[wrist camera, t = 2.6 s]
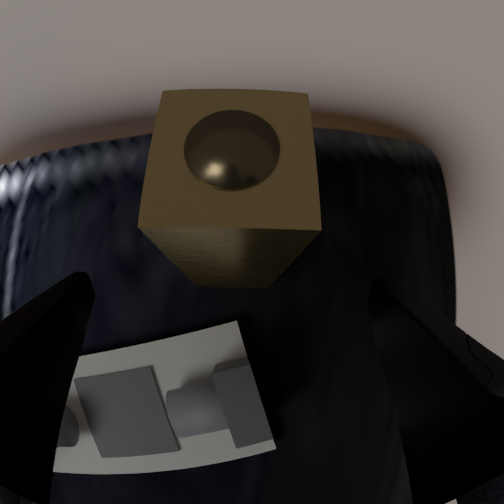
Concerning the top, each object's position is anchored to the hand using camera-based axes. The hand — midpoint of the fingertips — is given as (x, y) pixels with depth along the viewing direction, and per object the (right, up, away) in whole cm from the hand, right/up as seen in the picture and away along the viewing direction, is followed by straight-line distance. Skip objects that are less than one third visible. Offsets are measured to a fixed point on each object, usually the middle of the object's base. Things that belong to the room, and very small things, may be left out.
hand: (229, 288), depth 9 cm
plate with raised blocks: (-8, -10, +8) cm, 15 cm away
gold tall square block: (-1, +1, +11) cm, 11 cm away
